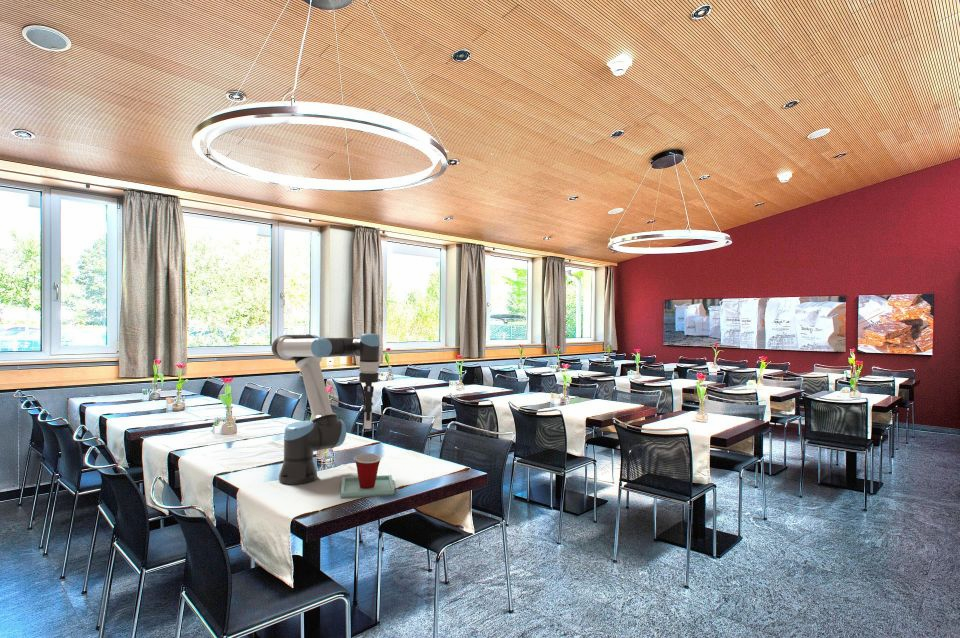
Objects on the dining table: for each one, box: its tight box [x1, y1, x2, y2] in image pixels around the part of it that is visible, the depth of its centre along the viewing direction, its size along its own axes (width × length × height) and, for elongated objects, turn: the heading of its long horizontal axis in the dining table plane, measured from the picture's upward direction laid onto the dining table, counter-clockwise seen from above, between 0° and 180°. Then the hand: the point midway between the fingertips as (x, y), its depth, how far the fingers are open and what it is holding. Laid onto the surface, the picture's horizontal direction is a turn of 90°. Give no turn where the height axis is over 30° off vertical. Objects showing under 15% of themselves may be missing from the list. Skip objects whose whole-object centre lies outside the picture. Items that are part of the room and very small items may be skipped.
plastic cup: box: [353, 452, 382, 489], centre depth 210 cm, size 11×11×12 cm
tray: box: [340, 474, 395, 499], centre depth 210 cm, size 20×20×2 cm
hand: (367, 425), depth 212 cm, fingers open, 13 cm apart
